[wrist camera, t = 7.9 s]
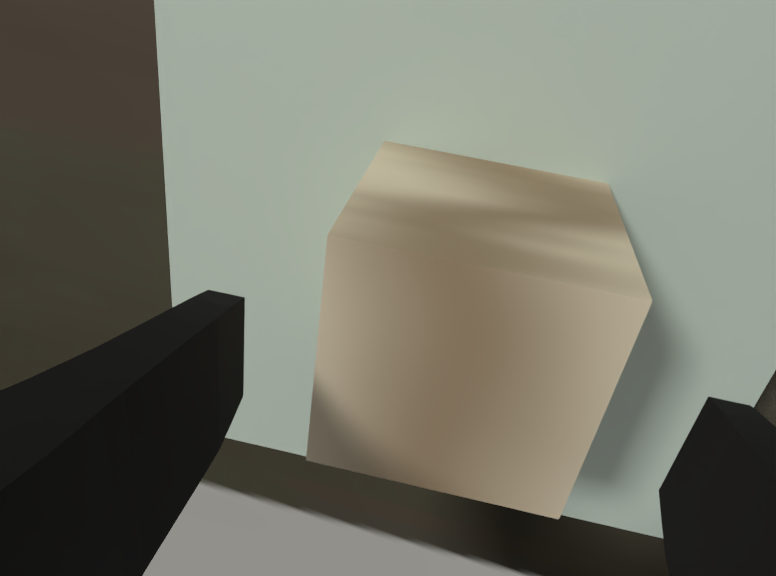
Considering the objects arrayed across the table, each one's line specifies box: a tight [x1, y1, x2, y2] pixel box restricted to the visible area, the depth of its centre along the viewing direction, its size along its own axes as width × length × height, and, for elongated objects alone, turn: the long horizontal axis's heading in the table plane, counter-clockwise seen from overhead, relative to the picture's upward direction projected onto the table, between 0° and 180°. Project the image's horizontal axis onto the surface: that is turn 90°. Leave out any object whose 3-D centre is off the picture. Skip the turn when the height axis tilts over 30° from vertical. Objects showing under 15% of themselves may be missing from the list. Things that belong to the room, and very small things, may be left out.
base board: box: [154, 0, 776, 539], centre depth 15 cm, size 14×14×2 cm
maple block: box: [306, 141, 652, 519], centre depth 12 cm, size 4×4×4 cm
